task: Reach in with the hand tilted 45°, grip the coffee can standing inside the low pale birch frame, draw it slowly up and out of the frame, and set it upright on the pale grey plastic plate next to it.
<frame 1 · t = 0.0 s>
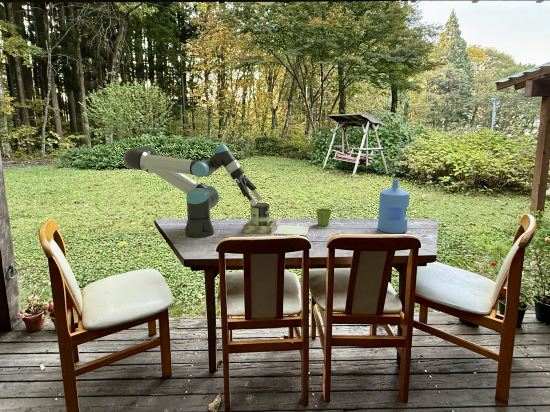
hand: (257, 202, 209), 15 cm above the table, tool tilted 35°, fingers open, 13 cm apart
plant pot: (323, 225, 223), on the table
coffee can: (260, 229, 213), resting in birch frame
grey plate: (292, 230, 210), on the table
water jug: (392, 230, 213), on the table
birch frame: (260, 229, 213), on the table
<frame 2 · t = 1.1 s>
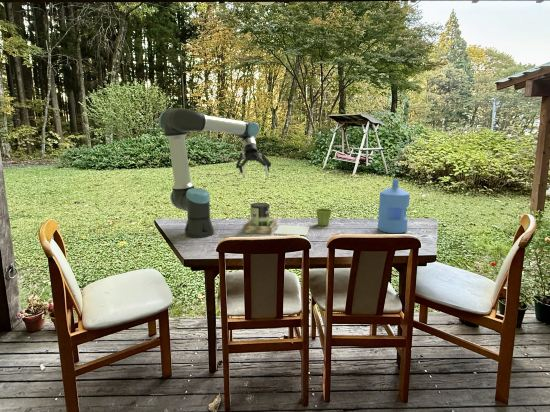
hand: (255, 176, 216), 28 cm above the table, tool tilted 45°, fingers open, 13 cm apart
nothing on the table moved.
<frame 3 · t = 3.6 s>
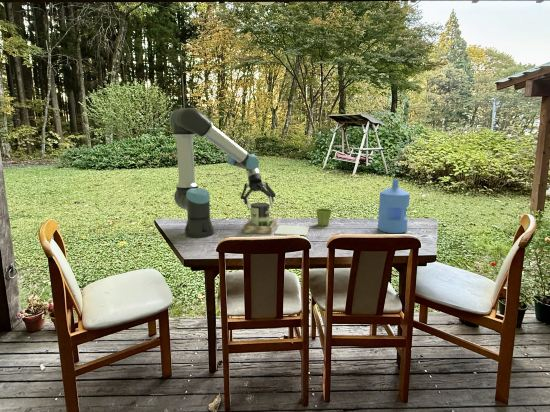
hand: (260, 208, 215), 11 cm above the table, tool tilted 45°, fingers open, 13 cm apart
nothing on the table moved.
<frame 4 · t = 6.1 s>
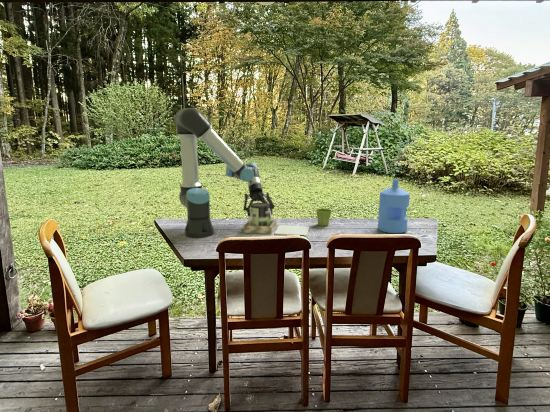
hand: (261, 220, 209), 6 cm above the table, tool tilted 45°, fingers closed on coffee can, 10 cm apart
coffee can: (260, 229, 213), resting in birch frame, touching gripper
everything else where it was.
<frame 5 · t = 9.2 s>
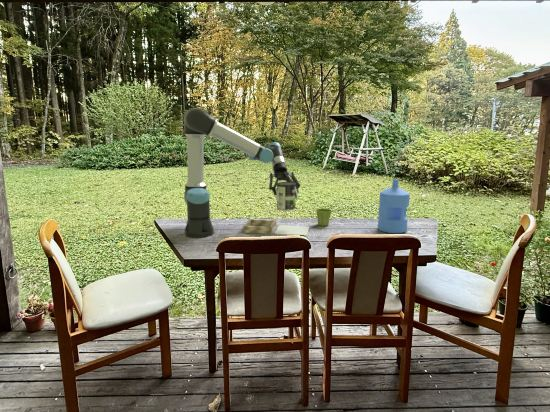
hand: (287, 199, 205), 18 cm above the table, tool tilted 45°, fingers closed on coffee can, 10 cm apart
coffee can: (286, 209, 209), point 12 cm above the table, touching gripper
everything else where it was.
when the fingers open (7 cm above the table, at t = 12.3 s): coffee can stays where it is, resting on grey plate.
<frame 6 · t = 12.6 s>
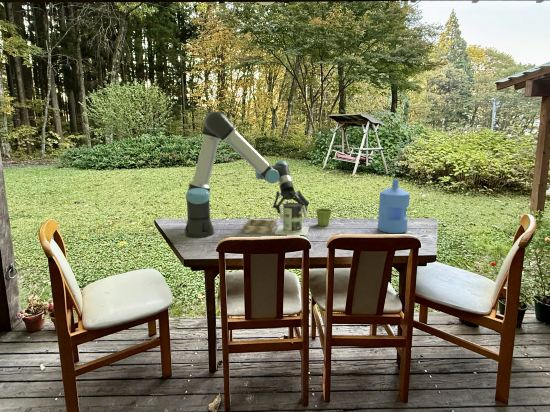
hand: (294, 217, 206), 8 cm above the table, tool tilted 45°, fingers open, 13 cm apart
coffee can: (292, 230, 210), resting on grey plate
everything else where it was.
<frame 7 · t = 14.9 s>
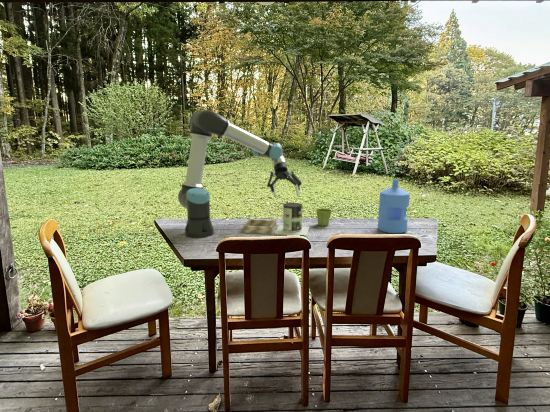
hand: (287, 195, 216), 18 cm above the table, tool tilted 45°, fingers open, 13 cm apart
nothing on the table moved.
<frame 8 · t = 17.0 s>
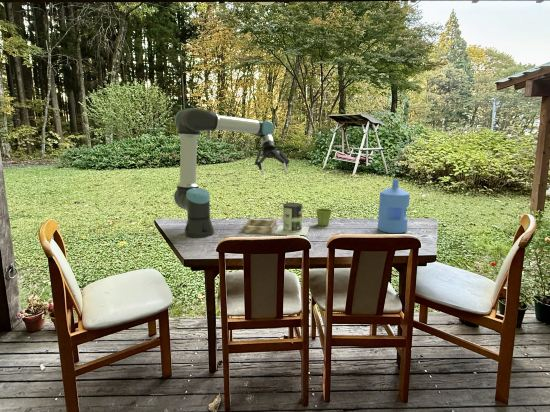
hand: (274, 173, 217), 30 cm above the table, tool tilted 45°, fingers open, 13 cm apart
nothing on the table moved.
at the end: coffee can 0.1 cm from the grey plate (horizontally); coffee can tilted 0°; the gripper is holding nothing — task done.
